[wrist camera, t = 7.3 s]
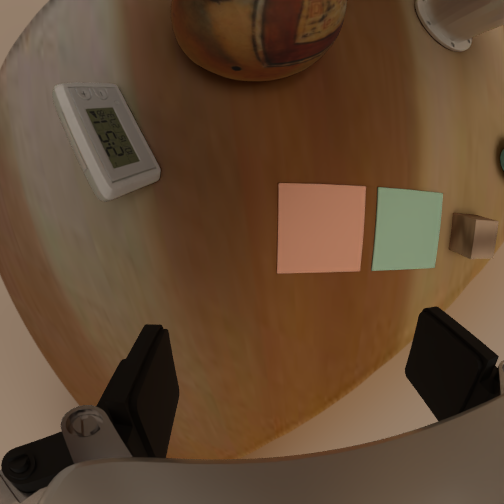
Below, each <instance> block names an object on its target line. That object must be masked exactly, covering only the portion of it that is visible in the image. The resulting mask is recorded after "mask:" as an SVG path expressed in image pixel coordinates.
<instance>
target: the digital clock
mask: <svg viewBox="0 0 504 504" xmlns="http://www.w3.org/2000/svg"><path fill="white" fill-rule="evenodd" d="M52 98H53V102H54V105H55V108H56V111H57V113H58V116H59V119H60V121H61V123H62V126H63V128H64V131H65V133H66V135H67V138H68V140H69V142H70V144H71V147H72V149H73V151H74V153H75V155H76V158H77V160H78V162H79V164H80V166H81V168H82V170H83V172H84V174H85V176H86V178H87V180H88V182H89V184H90V186H91V188H92V190H93V192H94V194H95V195H96V197H97V198H98V199H99V200H101V201H104V202H107V201H110V200H113V199H116V198H118V197H121V196H123V195H125V194H128V193H130V192H132V191H135V190H137V189H140V188H142V187H144V186H147V185H149V184H152V183H154V182H156V181H158V180H159V178H160V172H161V170H160V167H159V165H158V163H157V161H156V159H155V157H154V155H153V154H152V152H151V150H150V148H149V146H148V144H147V142H146V140H145V138H144V136H143V135H142V133H141V131H140V129H139V127H138V125H137V123H136V121H135V119H134V117H133V115H132V113H131V111H130V109H129V107H128V105H127V104H126V102H125V100H124V98H123V96H122V94H121V92H120V90H119V88H118V87H117V86H116V85H115V84H111V83H62V84H58V85H56V86H55V87H54V89H53V93H52Z"/></svg>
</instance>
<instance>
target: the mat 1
mask: <svg viewBox="0 0 504 504" xmlns="http://www.w3.org/2000/svg"><path fill="white" fill-rule="evenodd" d="M365 195H366V186H351V185H330V184H300V183H278V254H277V273H314V272H348V271H360V264H361V254H362V243H363V230H364V215H365Z"/></svg>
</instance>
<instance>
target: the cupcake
mask: <svg viewBox="0 0 504 504" xmlns="http://www.w3.org/2000/svg"><path fill="white" fill-rule="evenodd" d="M500 162H501V166H502V169H503V170H504V149H503V150H502V152H501V156H500Z"/></svg>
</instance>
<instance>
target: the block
mask: <svg viewBox="0 0 504 504" xmlns="http://www.w3.org/2000/svg"><path fill="white" fill-rule="evenodd" d="M497 230H498V221H495V220H492V219H488V218H485V217H481V216H478V215H470V214H459V213H453V220H452V229H451V237H450V245H449V249H450V250H452V251H454V252H456V253H459V254H461V255H463V256H465V257H467V258H469V259H489V258H493V256H494V250H495V244H496V237H497Z"/></svg>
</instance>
